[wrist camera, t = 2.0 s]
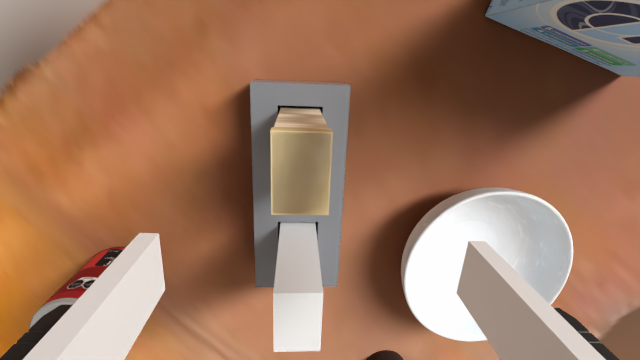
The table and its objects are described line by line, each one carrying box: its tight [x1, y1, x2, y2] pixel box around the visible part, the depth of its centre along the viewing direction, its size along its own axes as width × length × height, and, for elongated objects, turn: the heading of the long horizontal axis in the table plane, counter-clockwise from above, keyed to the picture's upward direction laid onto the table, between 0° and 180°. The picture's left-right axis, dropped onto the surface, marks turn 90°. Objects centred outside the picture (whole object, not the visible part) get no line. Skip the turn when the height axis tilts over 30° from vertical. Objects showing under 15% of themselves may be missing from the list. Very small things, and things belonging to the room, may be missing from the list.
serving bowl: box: [401, 187, 573, 341], centre depth 43 cm, size 21×21×7 cm
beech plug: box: [270, 106, 333, 215], centre depth 31 cm, size 4×6×16 cm
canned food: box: [30, 247, 125, 328], centre depth 39 cm, size 8×8×11 cm
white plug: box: [273, 222, 323, 352], centre depth 35 cm, size 4×6×16 cm, turn 178°
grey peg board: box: [250, 79, 351, 287], centre depth 40 cm, size 10×24×5 cm, turn 178°
